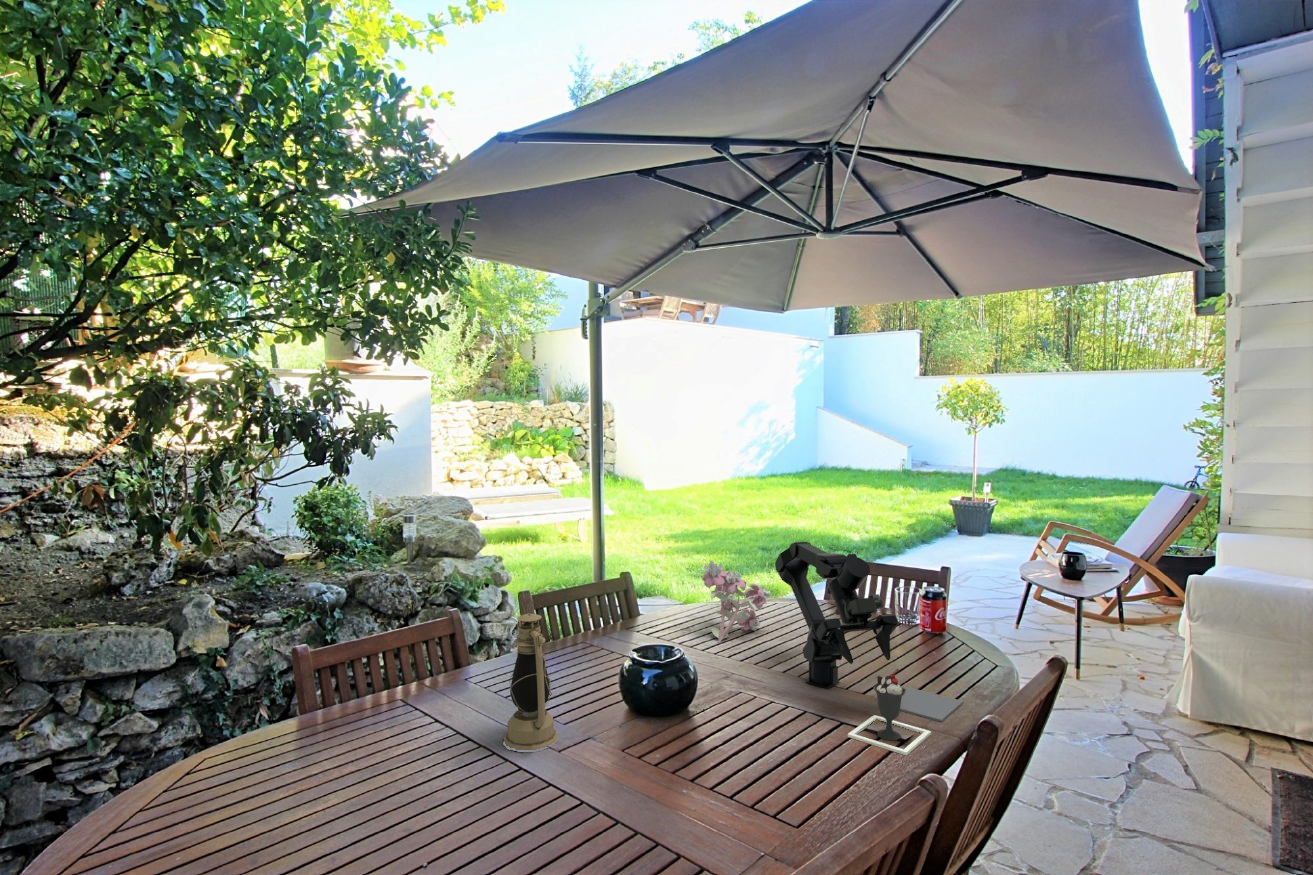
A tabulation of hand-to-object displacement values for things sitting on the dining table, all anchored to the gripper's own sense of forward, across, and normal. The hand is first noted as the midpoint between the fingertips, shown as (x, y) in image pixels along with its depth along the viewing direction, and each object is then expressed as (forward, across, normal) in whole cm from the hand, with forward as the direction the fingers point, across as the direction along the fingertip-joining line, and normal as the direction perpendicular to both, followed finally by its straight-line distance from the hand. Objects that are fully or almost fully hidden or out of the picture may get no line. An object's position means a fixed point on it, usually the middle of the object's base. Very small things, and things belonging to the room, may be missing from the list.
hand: (870, 661), depth 165 cm
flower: (-39, -7, +58) cm, 71 cm away
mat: (+6, +17, +13) cm, 22 cm away
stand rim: (+15, 0, +4) cm, 16 cm away
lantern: (+3, -75, +16) cm, 77 cm away
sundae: (+15, 0, +4) cm, 16 cm away
